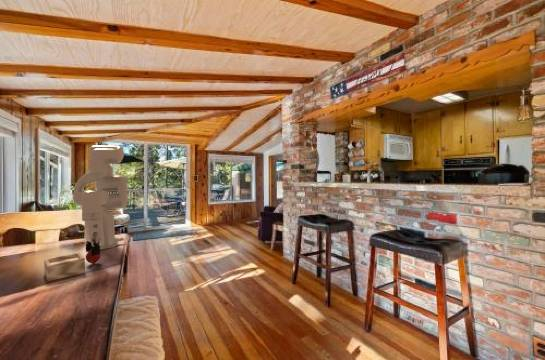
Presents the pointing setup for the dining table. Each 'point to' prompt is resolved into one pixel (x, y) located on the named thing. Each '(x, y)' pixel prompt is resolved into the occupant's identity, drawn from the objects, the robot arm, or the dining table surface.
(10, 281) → the dining table surface
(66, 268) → the beige square hollow tray
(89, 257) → the onion
